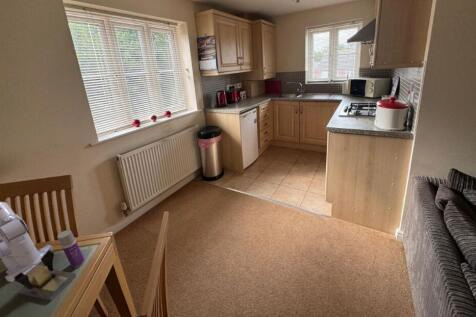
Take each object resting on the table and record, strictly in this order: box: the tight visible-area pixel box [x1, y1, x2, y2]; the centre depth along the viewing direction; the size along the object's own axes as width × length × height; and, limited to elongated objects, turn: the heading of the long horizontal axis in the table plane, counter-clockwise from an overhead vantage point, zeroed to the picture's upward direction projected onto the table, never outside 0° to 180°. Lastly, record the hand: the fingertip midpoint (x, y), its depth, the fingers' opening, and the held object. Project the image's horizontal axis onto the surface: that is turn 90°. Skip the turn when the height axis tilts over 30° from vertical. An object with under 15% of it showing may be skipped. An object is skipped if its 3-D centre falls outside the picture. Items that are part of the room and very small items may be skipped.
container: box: [56, 229, 86, 269], centre depth 92 cm, size 5×5×15 cm
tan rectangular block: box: [25, 264, 53, 289], centre depth 86 cm, size 4×4×7 cm
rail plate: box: [18, 269, 77, 302], centre depth 86 cm, size 14×10×2 cm
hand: (40, 278), depth 86 cm, fingers open, 7 cm apart
